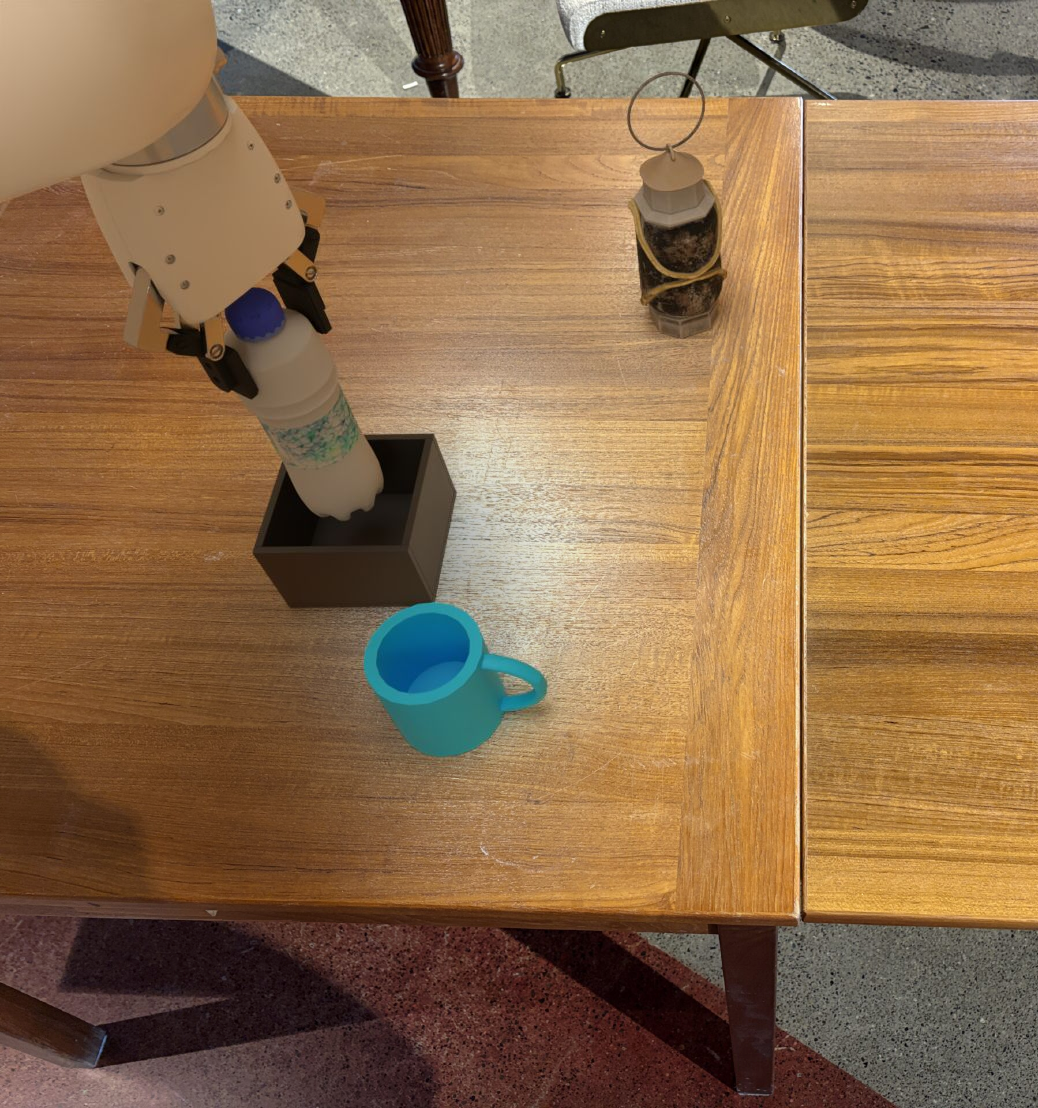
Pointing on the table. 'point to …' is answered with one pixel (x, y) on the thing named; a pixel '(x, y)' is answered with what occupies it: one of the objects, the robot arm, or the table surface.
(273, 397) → the bottle
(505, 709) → the mug
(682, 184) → the lantern
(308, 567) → the bin
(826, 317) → the table surface
